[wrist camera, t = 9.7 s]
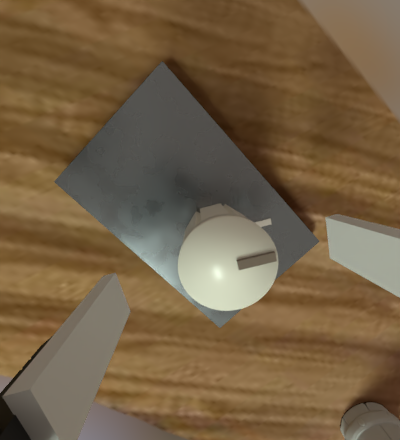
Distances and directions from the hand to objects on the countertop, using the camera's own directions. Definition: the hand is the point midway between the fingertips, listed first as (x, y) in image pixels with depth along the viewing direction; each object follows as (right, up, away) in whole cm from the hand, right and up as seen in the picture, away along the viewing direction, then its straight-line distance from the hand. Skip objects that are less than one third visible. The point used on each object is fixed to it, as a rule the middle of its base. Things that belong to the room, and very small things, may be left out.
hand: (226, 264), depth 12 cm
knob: (0, +1, +7) cm, 7 cm away
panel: (-2, +4, +8) cm, 9 cm away
